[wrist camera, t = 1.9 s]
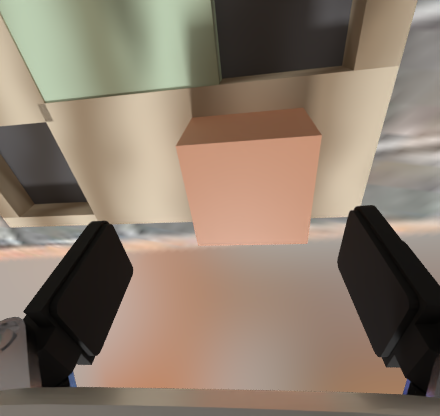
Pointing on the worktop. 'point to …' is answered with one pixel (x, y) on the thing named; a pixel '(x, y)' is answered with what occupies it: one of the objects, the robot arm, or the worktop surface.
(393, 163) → the worktop surface
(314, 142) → the block
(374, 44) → the board
